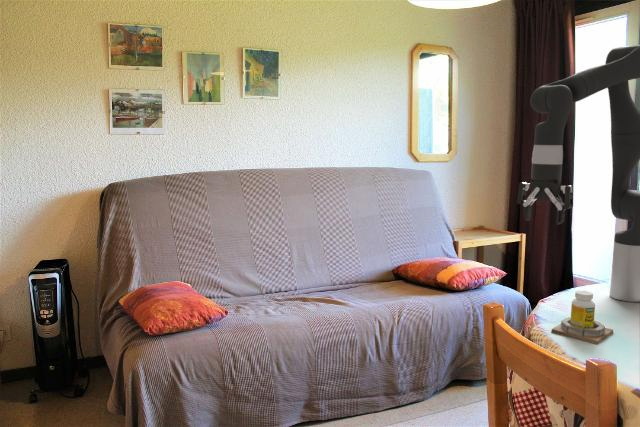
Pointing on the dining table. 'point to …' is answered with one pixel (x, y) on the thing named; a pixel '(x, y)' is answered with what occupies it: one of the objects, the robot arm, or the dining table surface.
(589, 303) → the supplement bottle
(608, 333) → the collar
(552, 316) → the dining table surface
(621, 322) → the dining table surface
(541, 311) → the dining table surface
